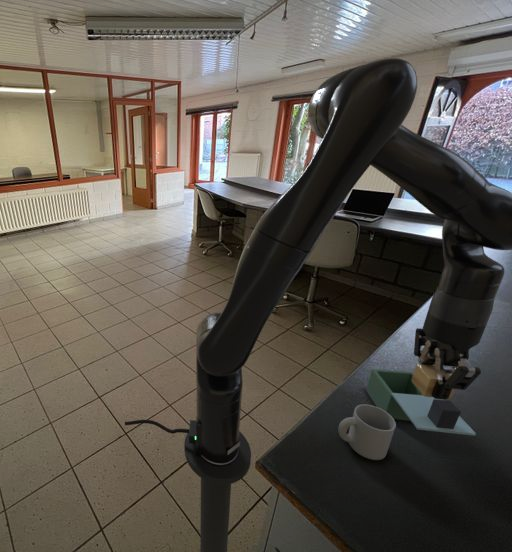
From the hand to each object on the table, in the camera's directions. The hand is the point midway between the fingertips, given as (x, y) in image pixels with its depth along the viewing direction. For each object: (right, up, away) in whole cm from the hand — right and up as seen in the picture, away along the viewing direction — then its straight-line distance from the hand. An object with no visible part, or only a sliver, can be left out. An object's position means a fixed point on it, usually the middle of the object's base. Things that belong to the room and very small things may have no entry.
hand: (430, 388), depth 59 cm
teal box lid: (+6, -8, +6) cm, 11 cm away
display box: (+8, -11, +18) cm, 23 cm away
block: (0, 0, 0) cm, 0 cm away
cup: (-8, -16, +8) cm, 20 cm away
